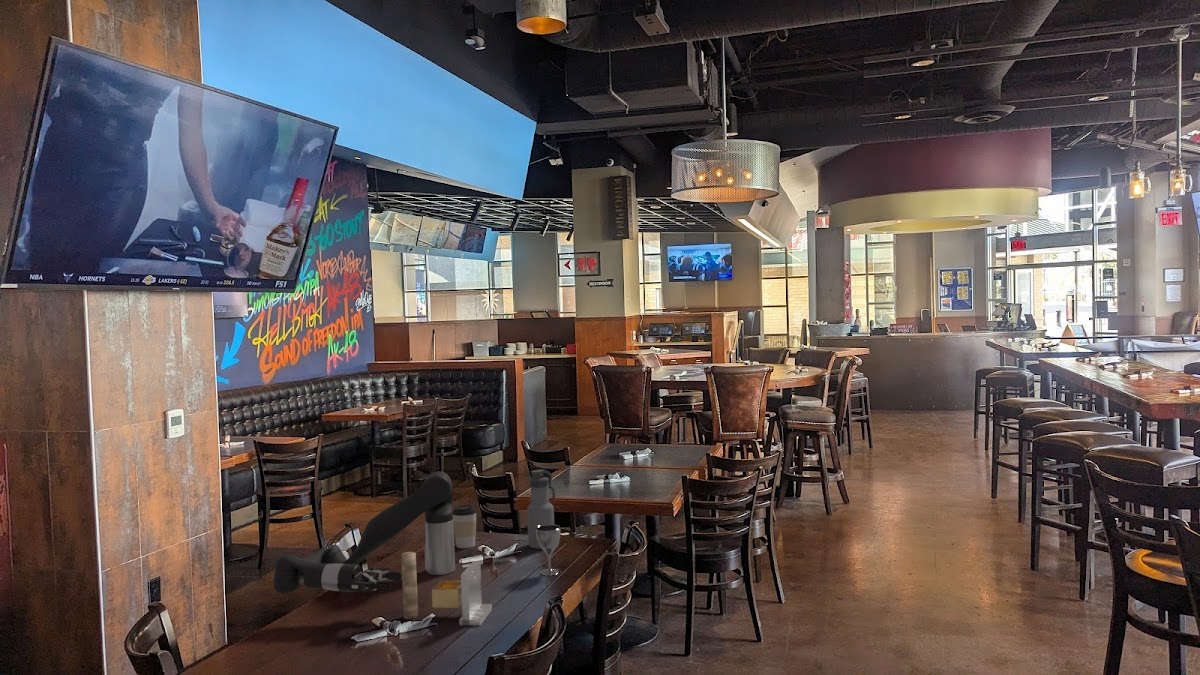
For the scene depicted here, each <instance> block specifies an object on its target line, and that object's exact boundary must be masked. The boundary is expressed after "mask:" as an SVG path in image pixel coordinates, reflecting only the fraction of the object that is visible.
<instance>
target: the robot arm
mask: <svg viewBox="0 0 1200 675" xmlns="http://www.w3.org/2000/svg"><path fill="white" fill-rule="evenodd" d="M453 499H454V498H453V482H452V478H451V477H450V476H449V474H447V473H446V472H445V471H433V472H432V473H430V474H428V476H427V477H426V478H425V480H424V482H423V484H421V485H420V486H419V487H418V488H417V489H416V490H415V491H414V492H413V493H411V494H410V495H409V496H407V497H406V498H404V499H402V500H400V501H398V502H395V503H394V504H391V505H390V506H388V507H386V508H385V509H384V510H382V511H380V512H379V513H378V514H376V515H375V516H374V517H371V519H370V520H369V521H368V522H367V523H366V525H365V528H364V529H363V532H362V534H361V537H360V540H359V542H358V544H357V546H356V548H355V550H354V551H353V552H352V553H351V555H350V556H349V557H348V558H347V557H346V556H345V555H344V553H343V551H342V550H341V548H340V547H339V546H338V545H337V544H329V545H325V546H324V547H322V548H320V549H318V550H316V551H314V552H313V553H311V554H308V555H307V556H304V557H299V556H296V555H291V554H285V555H282V556H281V555H280V556H279V557H278V558H277V559H276V561H275V564H274V565H275V566H274V571H273V572H274V575H273V582H272V586H273V589H274V590H275V591H276V592H277V593H279V594H285V595H286V594H291V593H293V592H296V591H297V590H298V589H300V588H301V587H302V586H303V585H304V586H305V587H306V588H307V589H314V590H327V591H332V592H343V593H344V592H345V593H347V592H348V593H355V592H360V593H372V592H373V591H377V590H382V591H383V590H384V591H390V590H391V588H392V582H391V581H392V580H393V581H401V580H402V571H390V570H391V568H389V567H369V569H368V570H364V571H363V570H362V567H361V565H359V563H361V562H362V561H363V560H364V559H365V558H367V557H368V556H369V555H370V554H372V553H373V552H375V551H376V550H377V549H379V548H381V547H382V546H383V545H384V544H386V543H387V542H389V541H390V540H392V539H393V538H394V537H396V536H397V535H399V534H400V533H402V531H403V530H404V529H406V528H407V527H408V526H410V525H411V524H412V523H413V522H414V521H415V520H416V519H417V518H419V517H420V516H421V515H422V514H424V523H425V524H424V526H425V527H424V528H425V543H424V546H423V547H424V564H425V565H424V568H425V571H426V572H427V574H429V575H435V576H438V575H439V576H440V575H441V576H442V575H447V574H450V573H452V572H455V571H456V560H455V555H456V554H455V539H454V538H455V531H454V523H453V520H454V519H453V510H454V502H453ZM327 547H328V548H327ZM389 580H391V581H389Z"/></svg>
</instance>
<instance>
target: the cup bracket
mask: <svg viewBox="0 0 1200 675" xmlns="http://www.w3.org/2000/svg"><path fill="white" fill-rule="evenodd" d="M481 569H482V568H481V560H478V561H477V560H474V561H472V562H471V563H470V564H469V565H468V566H467V567H466V569H464V571H463V572H462V573H461V574H460V580H440V581H439V582H438V583H437V584H436V585H435V586H434V587H433V588H432V589H431V601H432V602H431V603H432V606H431V607H432V608H438V609H439V608H441V609H442V608H443V609H446V608H450V609H452V608H454V609H456V608H457V609H458V608H460V607H461V613H462V614H461V616H460V618H459V619H458V622H459V623H458V625H459V626H481V625H483V622H485V620H486V619H487V617H488V615H490V613H491V612H492V610H493V604H492V603H483V600H482V596H483V595H482V572H481Z"/></svg>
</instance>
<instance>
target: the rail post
mask: <svg viewBox="0 0 1200 675" xmlns="http://www.w3.org/2000/svg"><path fill="white" fill-rule="evenodd" d="M416 556H417V554H416V552H415V551H406V552H403V553H401V554H400V557H401V573H402V579H401V580H402V581H401V582H402V601H403V602H402V604H403V605H402V606H403V618H404V619H406V620H412V618H413V619H415V618H417V616H418V617H419V605H418V604H419V603H418V601H419V600H418V582H417V581H418V580H417V577H418V576H417V557H416Z"/></svg>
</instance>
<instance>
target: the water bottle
mask: <svg viewBox="0 0 1200 675" xmlns="http://www.w3.org/2000/svg"><path fill="white" fill-rule="evenodd" d="M530 475H531V478H530V479H529V487H530V503H529V505H528V506H527V508H526V509H527V511H526V512H527V513H526V514H527V517H526V518H527V535H528V536H527V537H528V539H527V540H528V542H527V543H528V546H529V547H530V548H532V549H534V548H535V549H536V550H543V549H542V548H541V547H540V546H539V544H538V541H537V536H536V528H537V527H538V526H541V525H547V524H553V525H555V512H554V511H555V509H554V508H555V507H554V505H553V504H552V503H551V502H550V501H554V500H555V499H556V492H555V491H556V490H555V487H554V486H552V482H553V475H552V473H551V472H550V471H549V470H547V469H534V470H531V471H530ZM549 489H551V491H552V497H550V495H549V494H550V493H549ZM535 549H534V550H535Z"/></svg>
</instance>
